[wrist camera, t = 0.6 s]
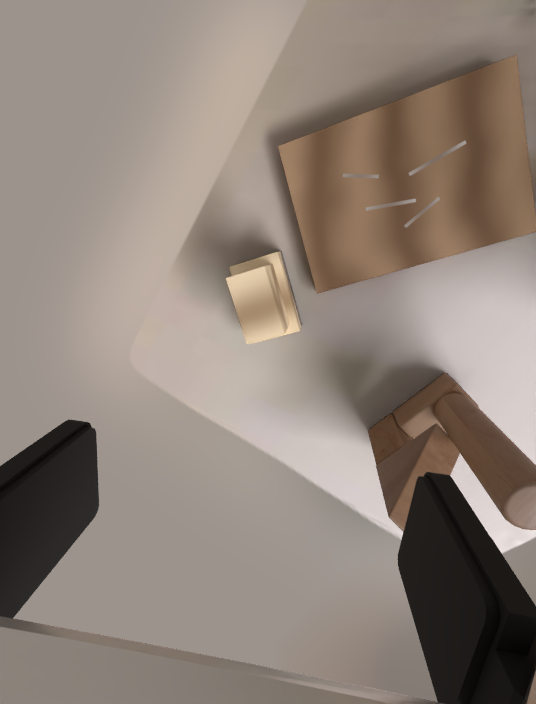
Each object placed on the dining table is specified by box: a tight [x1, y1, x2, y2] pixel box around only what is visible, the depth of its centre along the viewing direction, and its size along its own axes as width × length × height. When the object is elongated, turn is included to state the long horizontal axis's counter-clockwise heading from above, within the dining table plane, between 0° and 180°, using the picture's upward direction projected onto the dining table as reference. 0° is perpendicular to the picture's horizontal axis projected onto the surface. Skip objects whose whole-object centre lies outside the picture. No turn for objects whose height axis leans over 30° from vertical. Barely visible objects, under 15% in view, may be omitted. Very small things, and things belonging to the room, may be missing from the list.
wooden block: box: [368, 373, 536, 532], centre depth 31 cm, size 4×11×18 cm, turn 135°
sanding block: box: [226, 252, 302, 344], centre depth 34 cm, size 8×5×9 cm, turn 17°
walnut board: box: [278, 55, 536, 293], centre depth 33 cm, size 20×14×2 cm
